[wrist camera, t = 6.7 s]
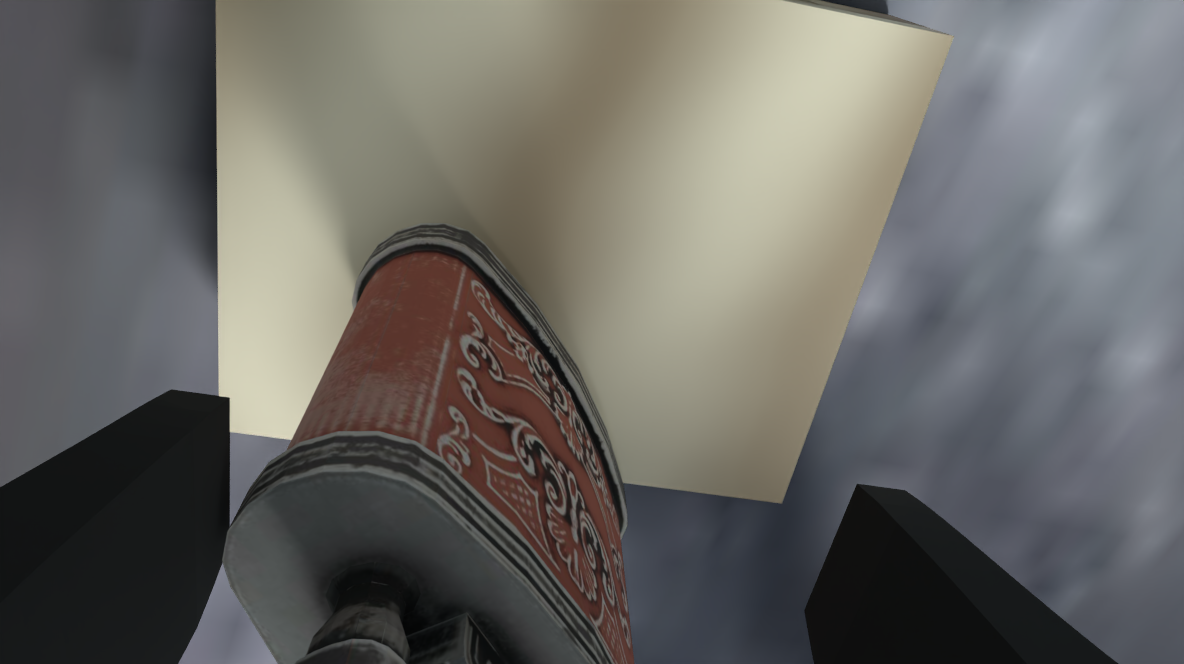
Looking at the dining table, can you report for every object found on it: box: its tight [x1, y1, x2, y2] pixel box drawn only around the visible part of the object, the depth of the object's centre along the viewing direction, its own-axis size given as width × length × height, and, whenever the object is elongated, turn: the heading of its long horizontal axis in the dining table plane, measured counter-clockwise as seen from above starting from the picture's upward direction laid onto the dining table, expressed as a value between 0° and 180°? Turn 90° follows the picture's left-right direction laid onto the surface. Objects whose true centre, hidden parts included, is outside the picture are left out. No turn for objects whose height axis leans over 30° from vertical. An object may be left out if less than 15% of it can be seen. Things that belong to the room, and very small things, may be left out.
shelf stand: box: [216, 0, 954, 503], centre depth 17 cm, size 12×10×3 cm
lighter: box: [222, 223, 634, 664], centre depth 12 cm, size 8×3×10 cm, turn 25°
